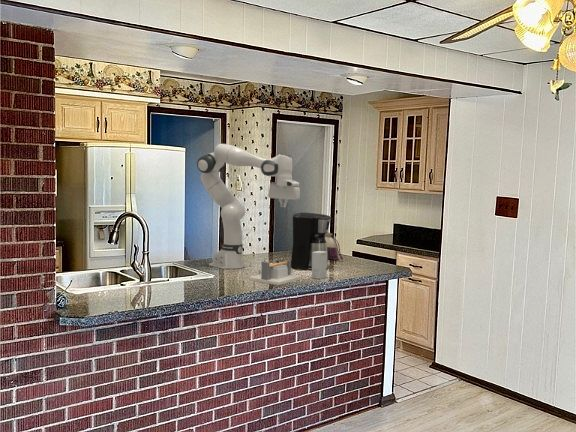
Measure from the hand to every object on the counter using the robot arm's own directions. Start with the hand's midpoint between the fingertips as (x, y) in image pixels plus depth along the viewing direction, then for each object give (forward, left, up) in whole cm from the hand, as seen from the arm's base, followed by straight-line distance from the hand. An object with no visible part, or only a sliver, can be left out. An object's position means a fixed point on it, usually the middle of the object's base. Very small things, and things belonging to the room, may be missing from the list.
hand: (283, 207), depth 311 cm
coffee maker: (-4, +30, -39) cm, 50 cm away
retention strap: (+6, -13, -31) cm, 34 cm away
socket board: (+6, -14, -39) cm, 42 cm away
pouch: (-8, +64, -39) cm, 76 cm away
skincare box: (+21, +7, -39) cm, 45 cm away
